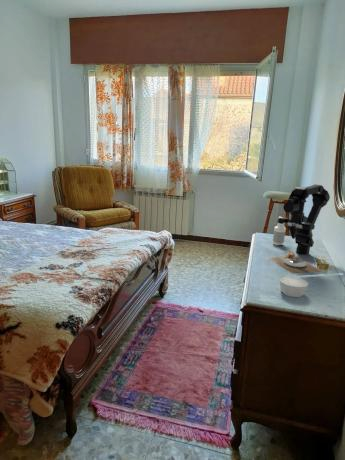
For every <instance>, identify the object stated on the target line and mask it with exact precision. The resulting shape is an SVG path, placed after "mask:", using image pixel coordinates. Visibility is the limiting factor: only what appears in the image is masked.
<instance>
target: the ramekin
mask: <svg viewBox="0 0 345 460" xmlns="http://www.w3.org/2000/svg"><path fill="white" fill-rule="evenodd" d="M279 284H280V291H281V293H282V292H283V294H284V295H285V296H287V295H288V297H290V298H301V297H303V296H305V293H306V292H307V288H308V287H309V283H308V282H307V281H306V280H305V279H302V278H299V277H295V276H282V277H281V278H280V279H279Z"/></svg>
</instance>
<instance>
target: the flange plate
mask: <svg viewBox="0 0 345 460" xmlns="http://www.w3.org/2000/svg"><path fill="white" fill-rule="evenodd" d="M288 254H290V257H289V258H286V259H285V260H284V263H285V264H286V265H288V266H291V267H296V268H304V267H306V262H307V261H306V260H304V259H303V260H304V261H303V260H300V259H297V258H295V257H296V254H295V253H294V252H293V251H288ZM305 261H306V262H305Z"/></svg>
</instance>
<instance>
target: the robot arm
mask: <svg viewBox="0 0 345 460" xmlns="http://www.w3.org/2000/svg"><path fill="white" fill-rule="evenodd" d="M310 195H311V197H312V201H311V202H312V206H311V209H310V211H309V213H308V215H307V216H306V215H305V213H304V210H305V203H307V200H306V199H308V198H309V196H310ZM330 198H331V196H330V193H329V191H328V190H326V189H325V188H324V186H323V185H321V184H312V185H309V186H304V187H300V186H295V187H294V188H293V189H292V191H291V192H290V195H289V197H288V199H287V202H285V203H284V204H283V206H282V207H283V210H284V212H285V213H287V214H290V215H291V216H290V218H289V217H284V216H283V217H282V216H281V217H282V218H279V217H278V219H277V223H280V224H283V223H284V224H287V225H286V227H287V228H288V230H289V233H290V235H291V239H293V240H294V243H295V244H297V246H296V250H295V253H296V254H297V255H302V256H307V255H309V254H310V252H311V251H310V250H311V248H312V247H313V246H314V244H315V242H314V239H313V236H314V235H313V230H315V227H316V226H315V224H316V221H317V219H318V217H319V214H320V212H321V210H322V208H323V207H325V206H326V205H328V202H329V201H330Z"/></svg>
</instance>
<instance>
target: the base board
mask: <svg viewBox="0 0 345 460" xmlns="http://www.w3.org/2000/svg"><path fill="white" fill-rule="evenodd" d="M295 258H297V259H300V260H303V261H305V262H306V267H304V268H296V267H291V266H288V265H286V264H285V263H284V260H285V259H286V256H280V257H279V256H278V257H269V259H270V260H271V261H272V262H274V263H276V264H278V265H279V266H280V267H281V268H283V269H285V270H286V271H287V272H289V274H290V273H291V274H307V273H308V274H309V273H323V272H324V270H321V269H320V268H318V267H317V266H314V265H313V264H312V263H309V262H308V261H307V260H304V259H302V258H300V257H299V256H295Z"/></svg>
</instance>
